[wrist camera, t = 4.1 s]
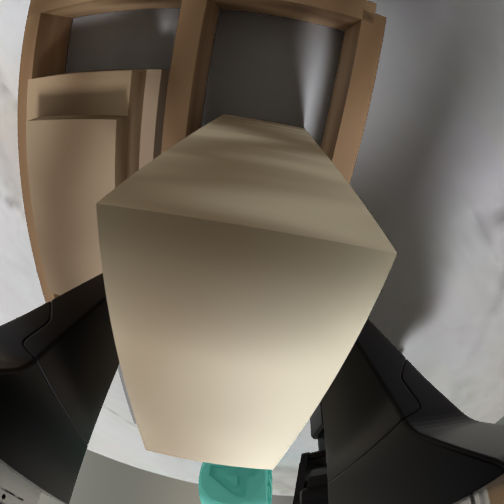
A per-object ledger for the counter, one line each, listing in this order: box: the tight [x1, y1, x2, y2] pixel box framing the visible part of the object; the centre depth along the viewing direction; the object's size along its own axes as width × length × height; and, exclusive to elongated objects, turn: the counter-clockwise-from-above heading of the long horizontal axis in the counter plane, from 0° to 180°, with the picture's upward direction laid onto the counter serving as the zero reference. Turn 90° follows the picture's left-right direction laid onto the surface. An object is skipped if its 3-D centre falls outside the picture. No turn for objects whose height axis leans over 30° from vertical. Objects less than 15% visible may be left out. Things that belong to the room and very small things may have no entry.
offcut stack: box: [26, 69, 170, 295], centre depth 14 cm, size 7×12×5 cm, turn 171°
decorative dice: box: [199, 462, 272, 504], centre depth 31 cm, size 8×8×8 cm
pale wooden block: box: [96, 114, 397, 470], centre depth 11 cm, size 4×8×12 cm, turn 171°
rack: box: [18, 0, 386, 303], centre depth 15 cm, size 16×21×3 cm
